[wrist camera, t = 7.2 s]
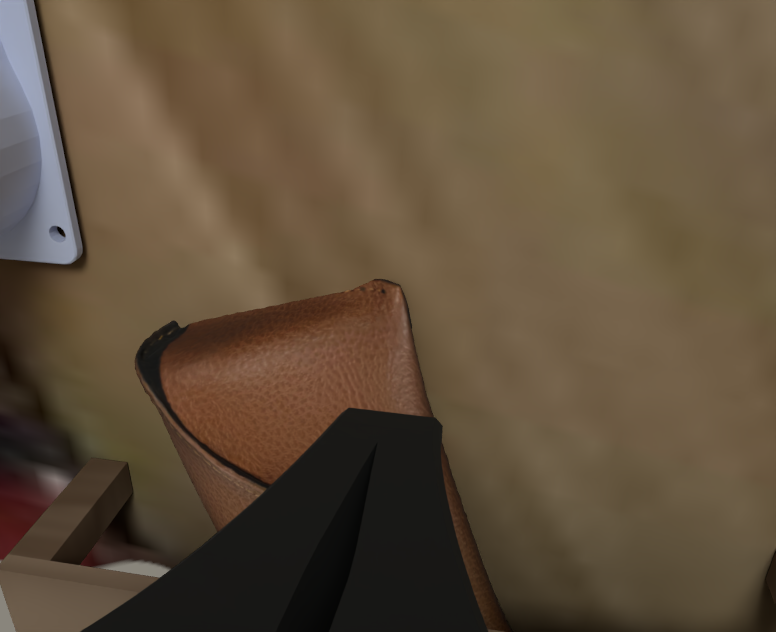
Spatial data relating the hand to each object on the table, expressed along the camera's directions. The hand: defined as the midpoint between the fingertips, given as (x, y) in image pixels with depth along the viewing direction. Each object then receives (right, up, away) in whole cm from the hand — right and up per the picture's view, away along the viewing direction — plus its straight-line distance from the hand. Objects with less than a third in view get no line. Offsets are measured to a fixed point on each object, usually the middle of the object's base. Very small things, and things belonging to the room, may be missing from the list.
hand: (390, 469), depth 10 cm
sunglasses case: (-1, -5, +15) cm, 16 cm away
